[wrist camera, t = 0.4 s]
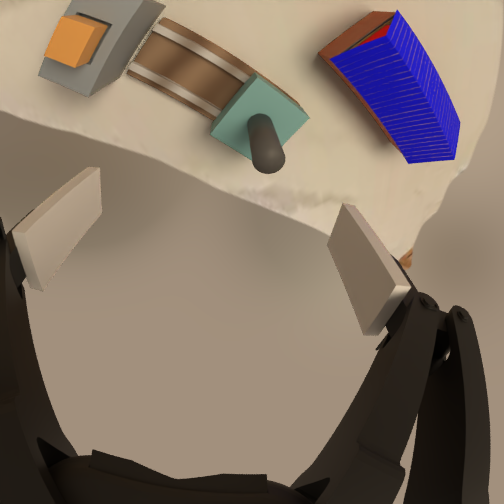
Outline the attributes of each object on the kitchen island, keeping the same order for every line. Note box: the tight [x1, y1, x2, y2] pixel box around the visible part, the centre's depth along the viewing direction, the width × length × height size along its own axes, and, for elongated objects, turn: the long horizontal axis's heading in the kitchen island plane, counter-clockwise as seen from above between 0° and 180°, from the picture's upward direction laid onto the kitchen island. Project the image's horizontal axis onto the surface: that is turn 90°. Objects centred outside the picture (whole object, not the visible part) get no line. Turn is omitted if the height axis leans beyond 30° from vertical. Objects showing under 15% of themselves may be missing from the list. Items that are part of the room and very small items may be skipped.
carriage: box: [210, 72, 309, 174], centre depth 28 cm, size 8×9×13 cm
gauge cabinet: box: [38, 0, 166, 97], centre depth 20 cm, size 12×8×10 cm, turn 142°
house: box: [318, 10, 460, 164], centre depth 27 cm, size 12×20×12 cm, turn 48°
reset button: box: [44, 15, 108, 68], centre depth 15 cm, size 4×4×3 cm
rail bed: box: [127, 17, 300, 121], centre depth 30 cm, size 22×9×2 cm, turn 52°
